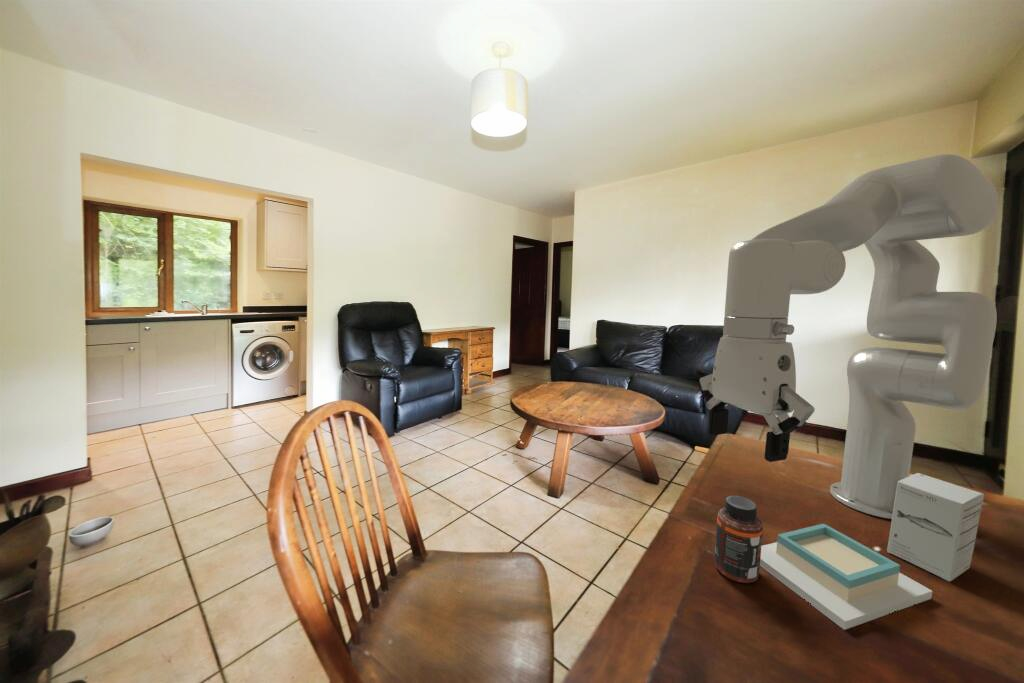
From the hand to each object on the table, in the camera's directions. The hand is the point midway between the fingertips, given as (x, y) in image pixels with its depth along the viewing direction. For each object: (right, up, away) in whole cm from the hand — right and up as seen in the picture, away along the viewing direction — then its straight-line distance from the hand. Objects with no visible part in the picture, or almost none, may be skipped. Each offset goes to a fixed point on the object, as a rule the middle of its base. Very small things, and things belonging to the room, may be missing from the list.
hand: (744, 445), depth 55 cm
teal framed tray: (+14, -20, +2) cm, 25 cm away
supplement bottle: (0, -20, +3) cm, 20 cm away
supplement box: (+32, -20, +5) cm, 38 cm away
